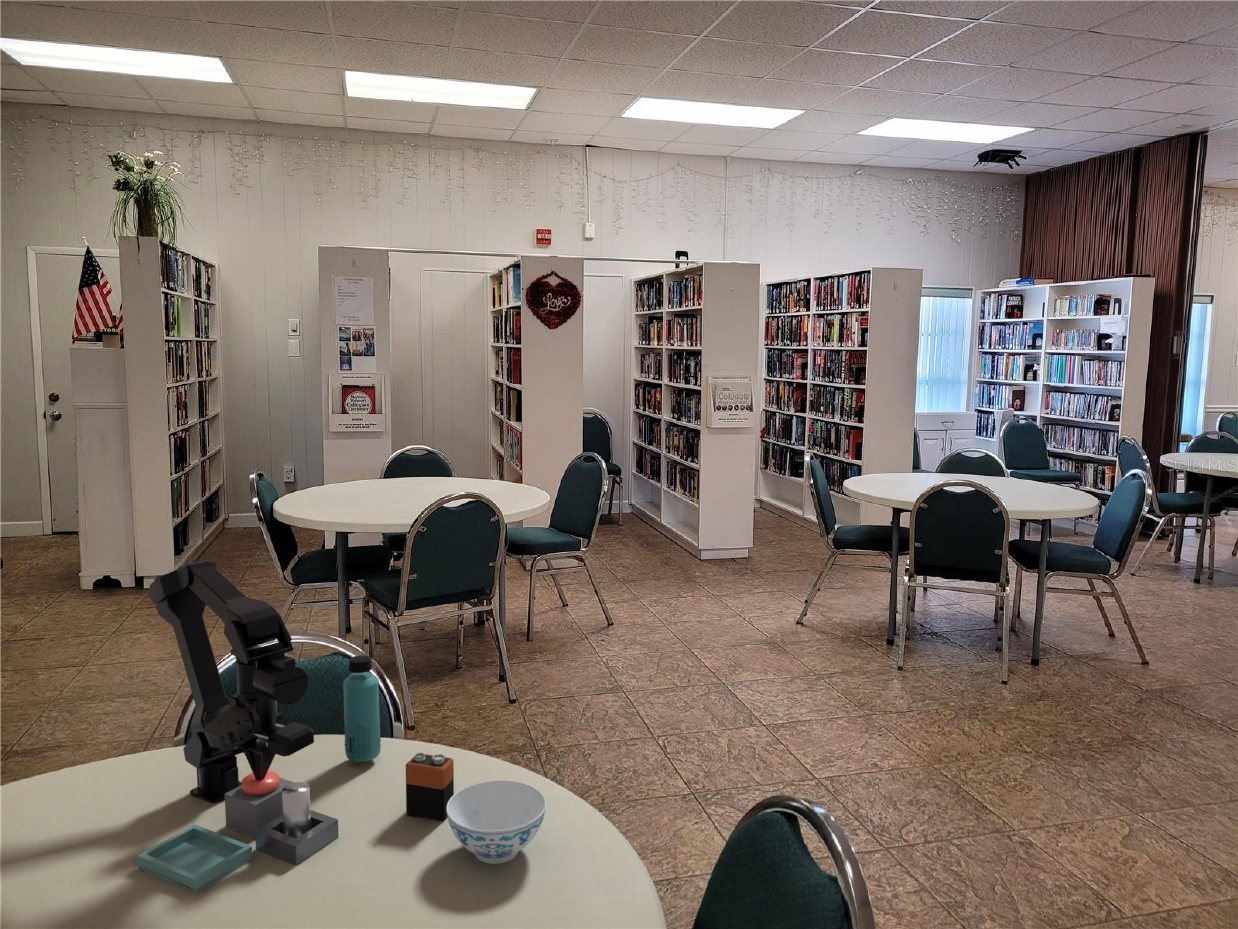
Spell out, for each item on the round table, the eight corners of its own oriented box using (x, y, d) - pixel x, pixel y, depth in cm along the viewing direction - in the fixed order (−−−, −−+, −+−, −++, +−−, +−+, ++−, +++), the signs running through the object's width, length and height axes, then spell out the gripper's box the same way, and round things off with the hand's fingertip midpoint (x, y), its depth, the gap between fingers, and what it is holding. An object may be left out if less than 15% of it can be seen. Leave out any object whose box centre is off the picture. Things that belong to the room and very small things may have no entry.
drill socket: (255, 849, 136) (255, 831, 136) (298, 823, 144) (298, 805, 143) (296, 865, 132) (295, 846, 132) (338, 837, 140) (338, 819, 139)
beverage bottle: (388, 757, 167) (386, 653, 164) (367, 773, 160) (365, 666, 158) (358, 751, 169) (356, 649, 166) (336, 766, 163) (333, 661, 160)
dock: (226, 826, 142) (224, 794, 142) (266, 803, 149) (265, 772, 149) (257, 838, 139) (255, 805, 138) (297, 814, 146) (296, 782, 145)
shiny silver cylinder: (278, 846, 137) (276, 791, 136) (298, 833, 141) (296, 780, 139) (297, 853, 135) (295, 797, 134) (317, 840, 139) (315, 786, 138)
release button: (234, 805, 143) (233, 782, 142) (262, 789, 148) (262, 768, 147) (259, 814, 140) (258, 791, 140) (287, 798, 145) (286, 776, 144)
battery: (443, 822, 145) (442, 764, 143) (405, 816, 146) (404, 758, 145) (454, 809, 149) (454, 752, 147) (417, 803, 151) (417, 746, 149)
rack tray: (138, 868, 131) (137, 855, 131) (195, 836, 139) (194, 824, 139) (196, 893, 125) (195, 880, 125) (252, 858, 134) (252, 846, 133)
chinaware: (520, 890, 128) (521, 839, 126) (428, 868, 132) (427, 819, 131) (560, 835, 142) (561, 789, 141) (475, 817, 146) (475, 773, 145)
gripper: (171, 692, 138) (176, 787, 140) (257, 717, 130) (261, 818, 132) (231, 669, 148) (235, 758, 150) (315, 691, 140) (317, 785, 142)
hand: (260, 779), depth 143 cm, fingers closed, pressing on release button
